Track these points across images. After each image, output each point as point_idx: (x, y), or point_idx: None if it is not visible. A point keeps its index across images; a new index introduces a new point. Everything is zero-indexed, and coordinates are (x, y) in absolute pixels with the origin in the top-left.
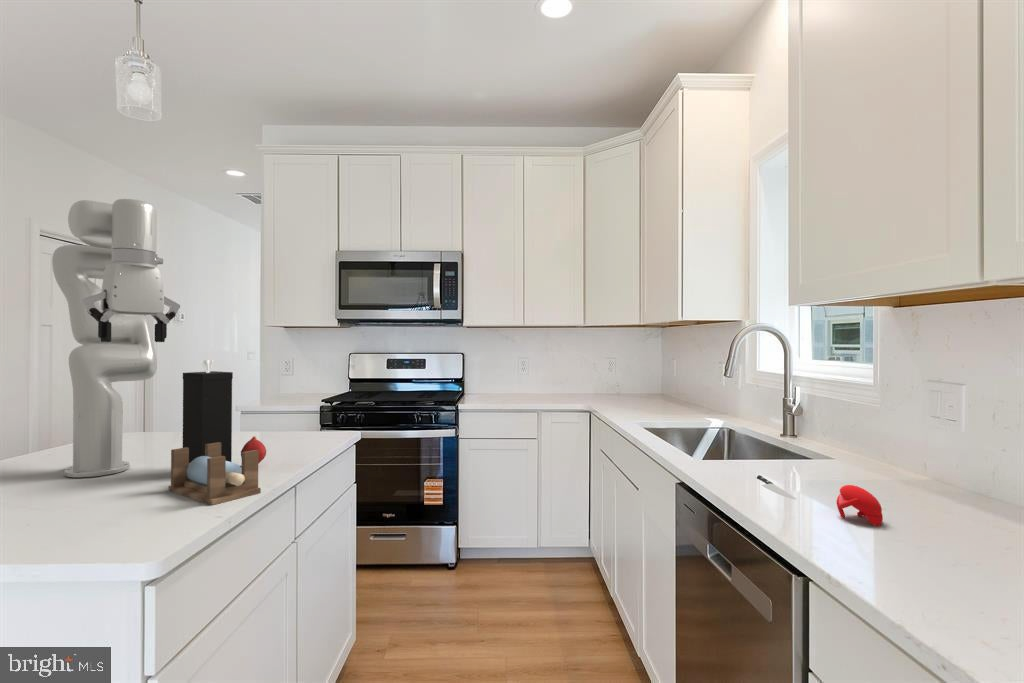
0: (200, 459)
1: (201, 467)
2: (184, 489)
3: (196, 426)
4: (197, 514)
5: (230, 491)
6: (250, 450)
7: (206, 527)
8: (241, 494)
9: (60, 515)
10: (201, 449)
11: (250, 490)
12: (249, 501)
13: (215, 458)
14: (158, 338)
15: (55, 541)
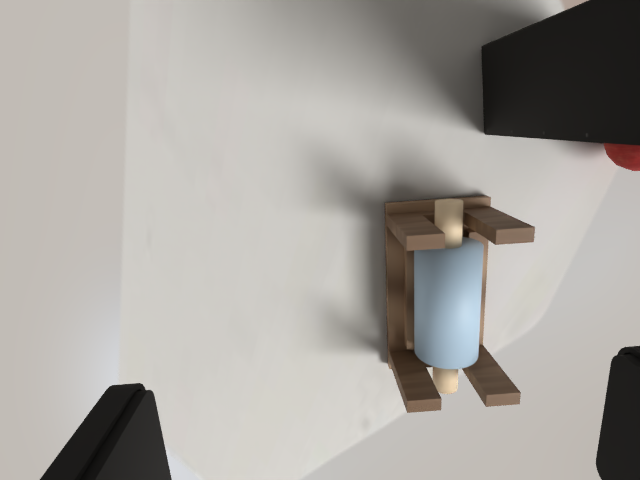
0: (444, 277)
1: (426, 305)
2: (393, 259)
3: (559, 109)
4: (350, 390)
5: None
6: (629, 160)
7: (331, 452)
8: None
9: (195, 221)
10: (520, 136)
11: None
12: None
13: (418, 411)
14: (625, 452)
15: (170, 360)
